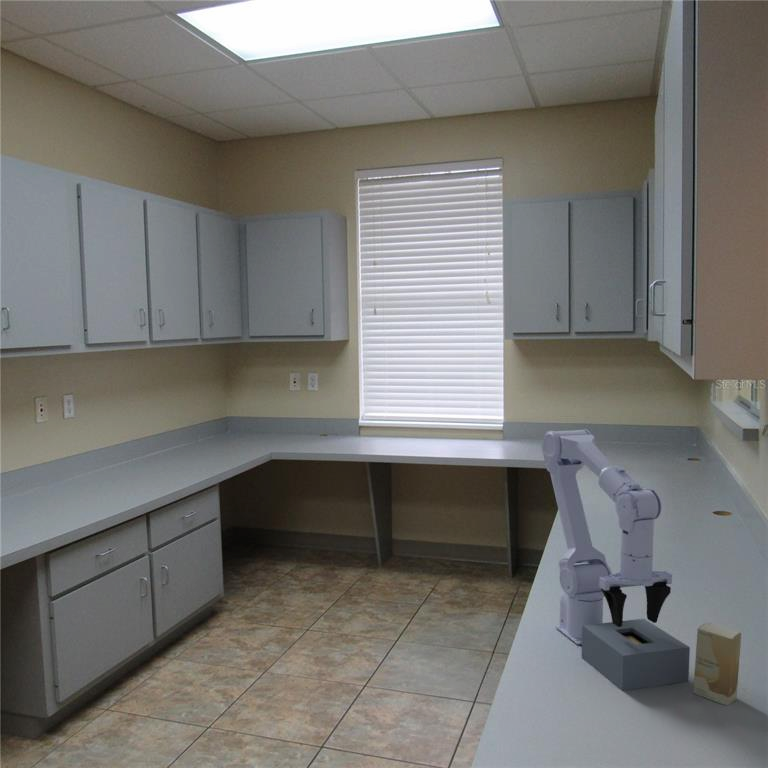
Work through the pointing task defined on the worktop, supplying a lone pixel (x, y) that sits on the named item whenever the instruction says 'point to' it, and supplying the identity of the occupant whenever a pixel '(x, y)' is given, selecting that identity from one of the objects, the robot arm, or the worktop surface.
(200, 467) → the worktop surface
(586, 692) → the worktop surface
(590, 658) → the slot box
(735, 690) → the skincare box
